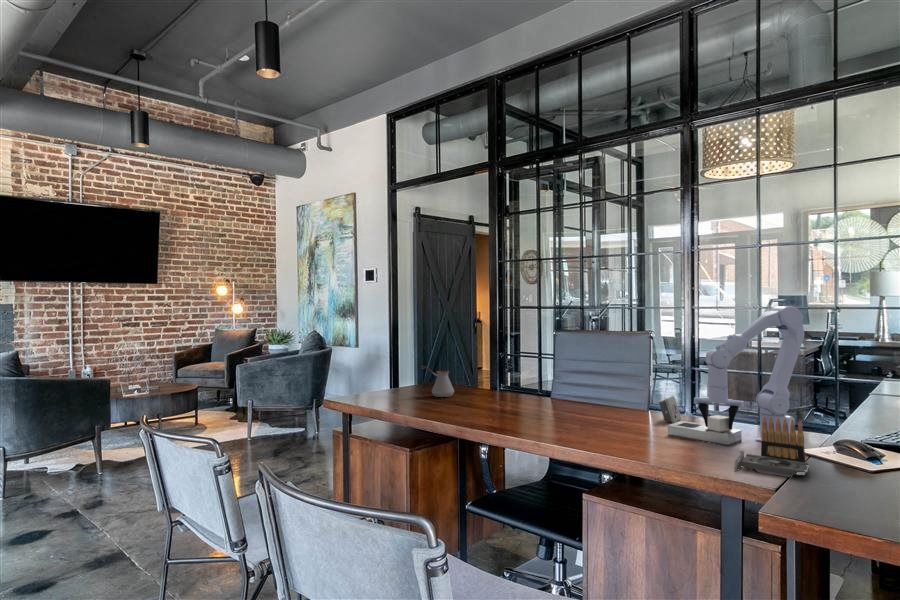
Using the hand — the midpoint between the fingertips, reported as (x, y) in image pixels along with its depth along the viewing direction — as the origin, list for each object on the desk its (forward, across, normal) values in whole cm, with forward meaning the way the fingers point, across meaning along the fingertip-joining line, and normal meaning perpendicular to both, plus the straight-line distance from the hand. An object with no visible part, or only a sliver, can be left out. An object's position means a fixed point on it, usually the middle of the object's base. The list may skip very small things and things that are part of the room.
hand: (718, 427), depth 177 cm
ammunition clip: (+4, -19, +15) cm, 25 cm away
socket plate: (+4, +5, -1) cm, 7 cm away
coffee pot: (+5, +135, -27) cm, 137 cm away
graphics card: (+5, -16, +28) cm, 33 cm away
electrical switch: (+4, +20, -24) cm, 32 cm away
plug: (+2, 0, 0) cm, 2 cm away
